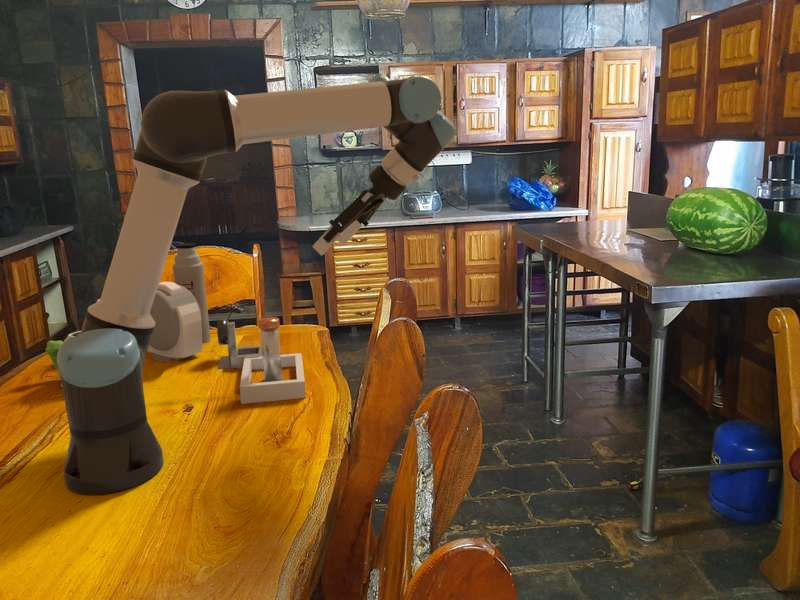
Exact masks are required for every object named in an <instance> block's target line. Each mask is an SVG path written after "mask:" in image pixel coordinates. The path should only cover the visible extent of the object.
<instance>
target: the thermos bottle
mask: <svg viewBox="0 0 800 600" xmlns="http://www.w3.org/2000/svg"><path fill="white" fill-rule="evenodd" d="M195 247H196V243H190V242H189V243H188V242H187V243H179V244H177V245H176V248H177V250H176V252H177V253H176V254H177V255H176V256H174V259H173V260H174V261H173V262H174V264H173V265H172V272H173V281H174V282H173V283H176V284H177V285H180V286H183V287H185V288H186V289H188V290H189V291H190V292H191V293H192V294H193V296H194V297H195V299H196V301H197V302H198V305H199V308H200V311H201V316H202V345H203V344H209V343H210V342H211V331H210V321H209V311H208V300H207V290H206V281H205V279H206V278H205V272H204V270H205V269H204V263H203V262H201V260H202V259H201V256H200V255H199V254H198V253H197V250H196V248H195Z"/></svg>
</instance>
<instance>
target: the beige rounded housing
mask: <svg viewBox="0 0 800 600" xmlns="http://www.w3.org/2000/svg"><path fill="white" fill-rule="evenodd" d="M150 315H151V316H152V318H153V319H154V321H155V327H154V330H153V334H152V337H151V340H150V344H149V347H148V350H147V352H148V351H149V352H150V353H151V358H152V359H153V360H158V361H161V362H165V363H170V361H171V360H175V361H181V360H184V359H186V358H189V357H192V356H195V355H196V354H199V353H202V352H203V344H202V316H201V311H200V308H199V305H198V302H197V301H196V299H195V297H194V296H193V294H192V293H191V292H190V291H189V290H188V289H186V288H185V287H183V286H180V285H177V284H176V283H174V282H172V281H161V282H159V285H158V288H157V291H156V294H155V298H154V301H153V304H152V307H151V311H150Z"/></svg>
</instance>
